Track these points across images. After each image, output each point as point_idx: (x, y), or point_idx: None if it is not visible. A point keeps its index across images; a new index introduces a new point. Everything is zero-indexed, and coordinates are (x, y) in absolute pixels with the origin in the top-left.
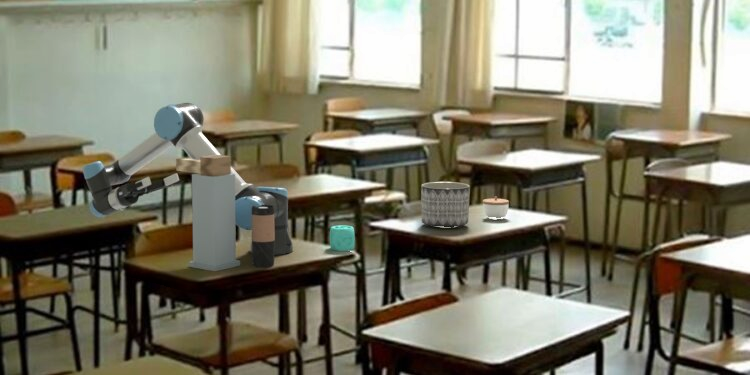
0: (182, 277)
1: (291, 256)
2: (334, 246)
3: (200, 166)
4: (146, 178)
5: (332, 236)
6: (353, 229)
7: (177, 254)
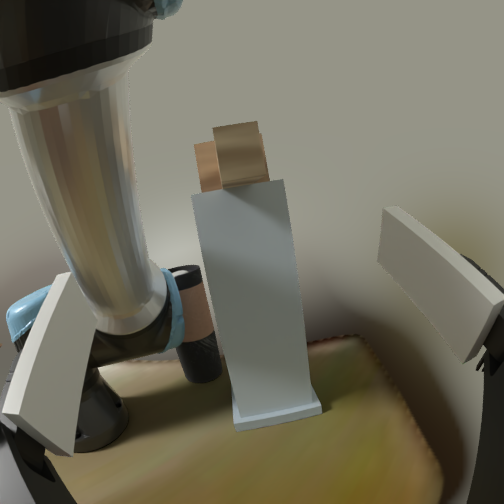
0: (374, 356)
1: (118, 387)
2: None
3: (265, 158)
4: (406, 219)
5: None
6: None
7: None
